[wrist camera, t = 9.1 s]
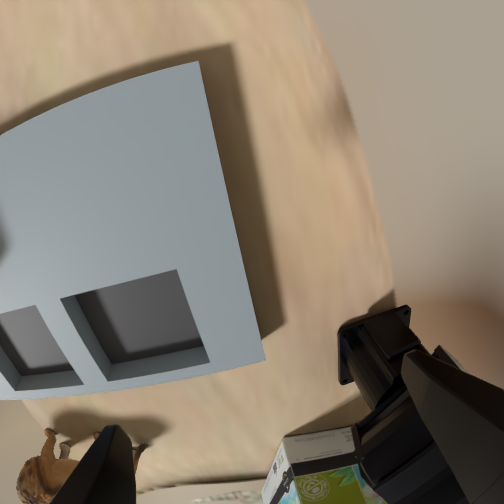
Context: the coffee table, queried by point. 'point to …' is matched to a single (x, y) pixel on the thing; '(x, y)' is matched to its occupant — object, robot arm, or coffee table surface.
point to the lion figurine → (51, 472)
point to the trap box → (119, 245)
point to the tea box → (318, 471)
